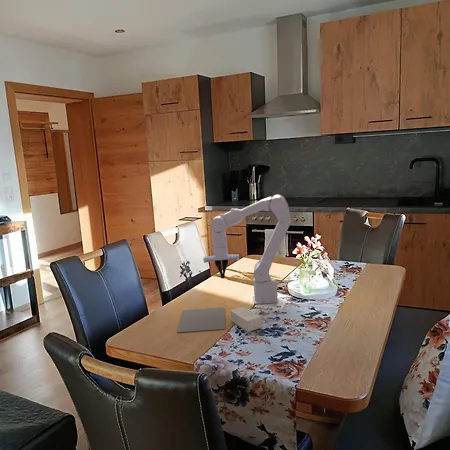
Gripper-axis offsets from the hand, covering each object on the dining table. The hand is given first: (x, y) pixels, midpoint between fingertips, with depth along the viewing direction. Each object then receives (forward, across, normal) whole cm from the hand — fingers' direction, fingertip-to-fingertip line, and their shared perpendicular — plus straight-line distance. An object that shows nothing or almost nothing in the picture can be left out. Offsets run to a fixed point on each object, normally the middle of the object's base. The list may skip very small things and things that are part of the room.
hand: (222, 277), depth 173 cm
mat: (+10, +8, +17) cm, 22 cm away
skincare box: (+8, -5, +19) cm, 21 cm away
